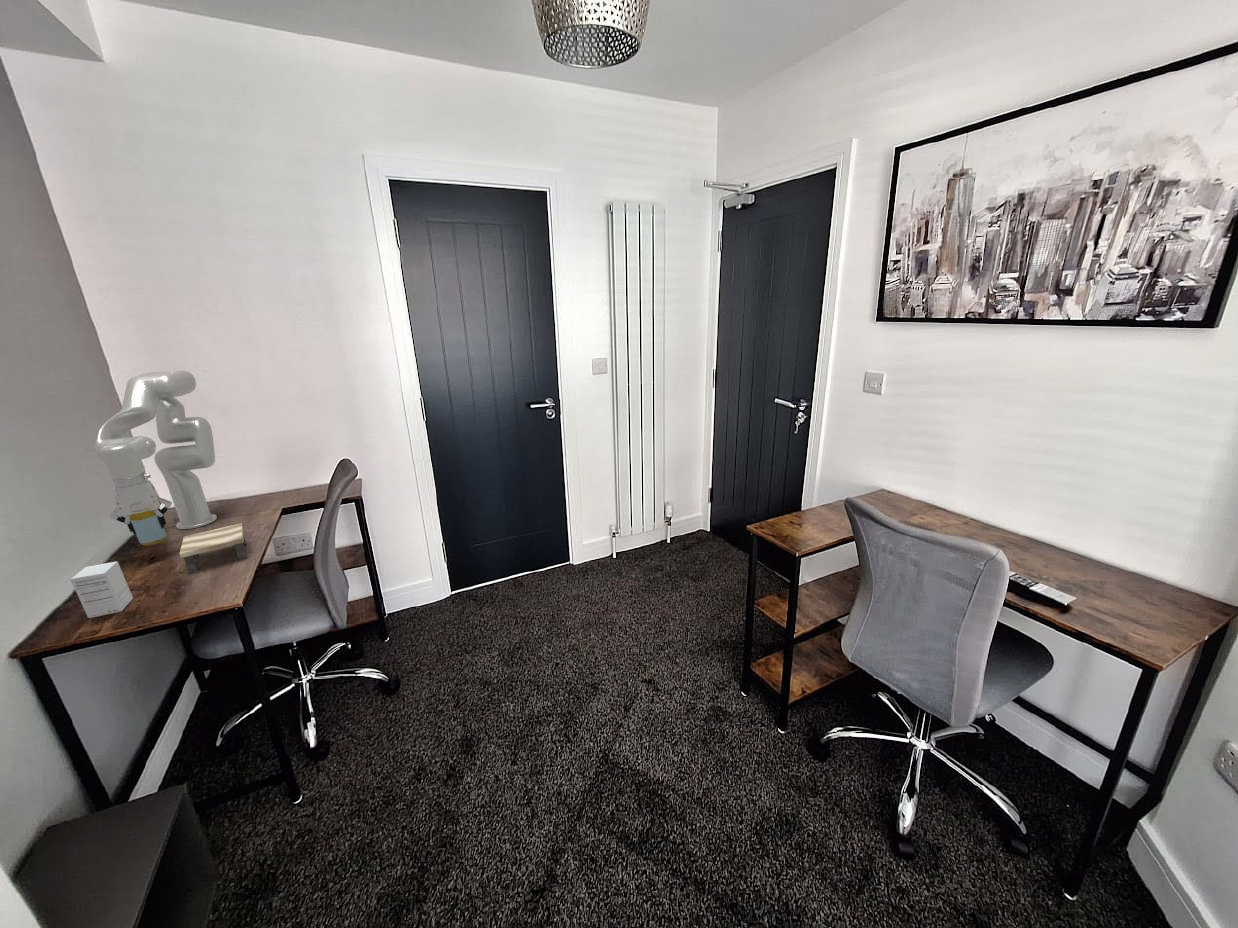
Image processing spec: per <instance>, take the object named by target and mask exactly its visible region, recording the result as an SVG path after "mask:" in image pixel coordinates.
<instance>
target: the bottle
mask: <svg viewBox="0 0 1238 928" xmlns="http://www.w3.org/2000/svg"><path fill="white" fill-rule="evenodd" d="M129 508H130V510H131V514H132V515H131V516H130V521H131V523H132V525H133V527H134V530H135V532H136V534H135V535H136V538H137V540H138V542H139V544H140V545H142V546H147V547H148V546H154V545H157V544H160V543H162V542H164V541H166V539H167V538H168V535H167V531H166V530H165V527H164V528H161V525H160V523H159V520H158V515H156V513H155V512H154V511H150V510H149V509H148V506H147V505H146V504H145V502H144V503H140V504H136V505H130V506H129Z"/></svg>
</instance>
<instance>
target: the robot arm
mask: <svg viewBox="0 0 1238 928" xmlns="http://www.w3.org/2000/svg"><path fill="white" fill-rule="evenodd" d="M196 386H197V381H196V378H195V376H194V375H193V374H192V373H191V372H190V371H188V370H172V371H171V370H170V371H168V370H167V371H155V372H146V373H141V374H139V375H137V376H133V377H131V378H130V379H128V380H127V382H126V387H125V391H124V394H123V395H124V396H123V400H122V406H121V409H120V411H118V412H117V413H116V414H114V415H113V416H111V417H110V418H109V419H108V420H107V421H106V422H105V423H103V424H102V426H101V427H100V428H99V429H98V432H97V436H96V440H95V443H94V444H95V446H94V449H95V455H96V457H98V459H100V460H101V461H103V464H104V466H105V468H106V470H107V472H108V475H109V477H110V480H111V482H112V484H113V487H112V494H113V499H114V502H115V507H114V509H113V510H112V511H111V512H110V513H109V515H108V518H109V519H112V520H116V521H118V522H121V523H123V524H125V525H127V527H128V530H129V532H130V533H132V534H133V535H136V532H135V530H134V527H133V525H132V523H131V521H130V516H131V515H132V514H131V510H130V508H129V506H130V505H136V504H140V503H144V502H145V504H146V505H147V506H148V509H149V510H150V511H154V512H155V513H156V515H158V520H159V523H160V525H161V528H164V529H165V526H166V524H167V521H166V519H165V514H166V513H167V511H168V509H169V508H170V507H171V506H172V504H173V505H174V508H175V511H176V513H177V516H178V519H179V521H178V522H177V523H176V524H175V527H176V529H178V530H190V529H196V528H200V527H202V526H206V525H209V524H211V523H213V522H214V521H216V520H218V519H217V518H218V517H217V514H214V513H211V510H210V508H209V505H208V503H207V499H206V496H205V492H204V490H203V487H202V485H201V480H200V478H199V477H198V476H197V475H196V474H195V473H194V472H193V471H192V470H201V469H208V468H211V467H212V466H213V465H214V464H215V462H216V455H215V454H216V453H215V445H214V438H213V437H214V436H213V429H212V427H211V424H210V422H209V421H208V420H207V419H206V418H204V417H201V416H193V417H192V416H191V417H186V411H185V406H184V405H183V404H182V402H180V401H179V400H178V399H177V397H182V396H186V395H188V394H190V393H192V392H194V390H196ZM154 418H155V421H156V431H157V435H158V438H159V441H160V442H161V443H163V444H168V445H170V444H171V445H175V444H176V445H177V444H184V443H185V444H186V443H193V442H194V443H195V444H189V445H188V444H187V445H177V446H170V447H165V448H162V449H160V450H157V444H156V441H154V440H153V439H152V438H151V437H148V436H142V435H141V436H138V435H137V436H131V437H121V436H122V435H124V434H125V433H126V432H128V431H130V430H132V429H135V428H138V427H140V426H143V425H145V424H147V423H149V422H151V421H153V419H154ZM156 451H157V452H156ZM153 455H154V462H155V465H156V467H157V468H158V470H159V471H160V473H161V475H162V476H163V478H164V480H165V483H166V485H167V486H166V487H167V488H168V491H169V494H170V497H171V499H172V501H170V500H167V499H165V498H163V497H160V496H159V493H158V492H157V490H156V487H155V486H154V484H153V483H152V481H151V480H149V479H150V478H152V477H151V474H150V473H145V472H144V471H143V470H142V467H141V464H140V462H139V461H141V460H145V459H148V458H150V457H152V456H153ZM161 505H164V506H163V507H162V508H161ZM118 514H119V515H118Z"/></svg>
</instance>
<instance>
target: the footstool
mask: <svg viewBox="0 0 1238 928" xmlns="http://www.w3.org/2000/svg"><path fill="white" fill-rule="evenodd" d="M246 545H247V541H246V538H245V535H244V525H243V523H242V522H241V523H236V524H232V525H228V526H224V527H220V528H215V529H211V530H206V531H202V532H197V533H194V534H193V533H192V534H190V535H185V536H183V538H182V543H181V547H180V549H179V555H180V558H181V559H183V561H184V563H185V566H186V568H187V571H188V574H193V573H197V572H198V566H197V564H196V561H195V558H200V557H201V554H202V553H206V552H211V551H215V550H219V549H223V548H227V547H231V546H234V547H235V548H234V549H235V551H236V553H237V557H238V559H239V561H242V560H246V559H247V553H246V549H245V546H246Z"/></svg>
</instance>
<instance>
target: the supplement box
mask: <svg viewBox="0 0 1238 928" xmlns="http://www.w3.org/2000/svg"><path fill="white" fill-rule="evenodd" d="M70 581H71V584H72V585H73V588H74V590H75V592H76V595H77V597H78V599H79V601H80V603H81V606H82V607H83V610H84V611H85V614H86V616H87V618H88V619H92V618H97V617H101V616H106V615H111V614H116V613H121V612H122V611H123V610H124V609H126V606H128V605H129V603H130V602H131V601H132V600H133V599H134V597H133V595H132V591H131V590H130V588H129V585H128V582H127V580H126V578H125V575H124V573H123V571H122V569H121V566H120V563H119V562H118V561H110V562H106V563H101V564H95V565H89V566H85V567H83V568H82V569H81V570H79V571H78V572H77V573H76V574H75V575H74V576H72V578H70Z"/></svg>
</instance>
